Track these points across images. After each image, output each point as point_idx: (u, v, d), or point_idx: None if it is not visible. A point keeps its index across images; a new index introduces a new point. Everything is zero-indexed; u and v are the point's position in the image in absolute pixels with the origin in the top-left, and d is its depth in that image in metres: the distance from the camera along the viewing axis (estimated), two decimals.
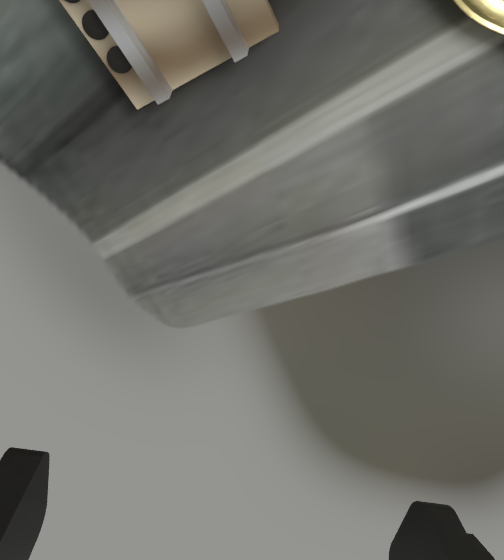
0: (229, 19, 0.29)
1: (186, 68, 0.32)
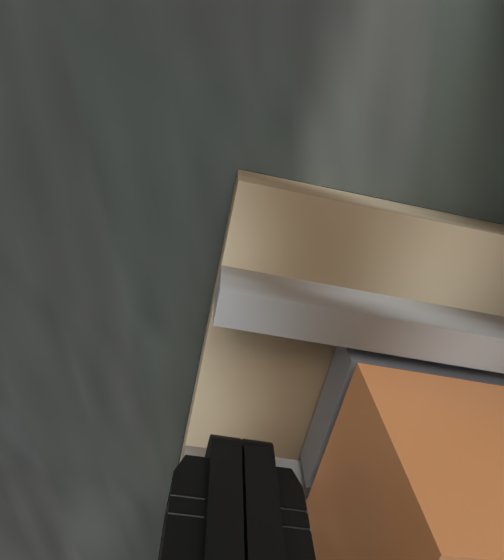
0: None
1: None
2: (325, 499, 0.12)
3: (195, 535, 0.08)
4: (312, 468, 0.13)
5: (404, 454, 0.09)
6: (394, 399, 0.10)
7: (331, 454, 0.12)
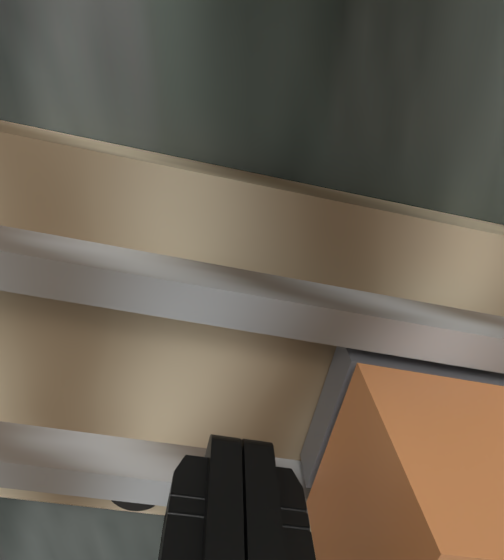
0: None
1: None
2: (325, 499, 0.12)
3: (194, 535, 0.08)
4: (312, 468, 0.13)
5: (404, 454, 0.09)
6: (394, 399, 0.10)
7: (331, 454, 0.12)
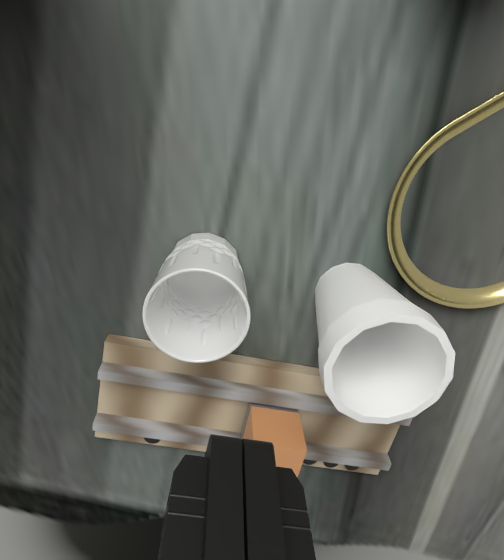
0: None
1: (385, 440, 0.50)
2: None
3: (195, 535, 0.08)
4: (242, 434, 0.47)
5: (253, 427, 0.42)
6: (257, 415, 0.44)
7: (245, 429, 0.46)
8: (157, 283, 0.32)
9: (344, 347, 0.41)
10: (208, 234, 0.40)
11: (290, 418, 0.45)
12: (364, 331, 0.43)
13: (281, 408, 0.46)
